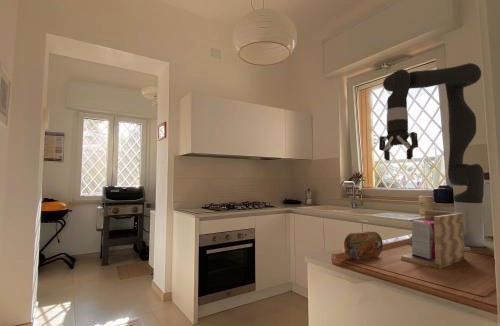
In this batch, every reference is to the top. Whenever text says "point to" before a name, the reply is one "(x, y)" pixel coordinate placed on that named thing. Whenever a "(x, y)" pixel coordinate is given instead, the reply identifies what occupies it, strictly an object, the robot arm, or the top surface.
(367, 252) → the tin
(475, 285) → the top surface
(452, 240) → the wooden bookend
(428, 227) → the supplement box
